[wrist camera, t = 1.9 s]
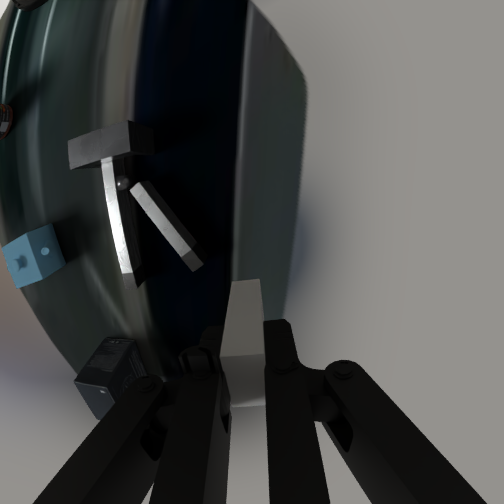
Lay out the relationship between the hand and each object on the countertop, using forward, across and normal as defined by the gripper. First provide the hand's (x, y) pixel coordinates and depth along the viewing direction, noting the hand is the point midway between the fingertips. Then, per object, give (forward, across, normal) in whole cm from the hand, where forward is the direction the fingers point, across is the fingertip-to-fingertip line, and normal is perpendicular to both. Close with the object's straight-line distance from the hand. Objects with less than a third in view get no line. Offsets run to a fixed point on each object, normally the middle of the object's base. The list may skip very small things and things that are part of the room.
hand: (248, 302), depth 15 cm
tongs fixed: (+16, -14, +4) cm, 21 cm away
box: (+16, -21, -17) cm, 32 cm away
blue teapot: (+16, -28, +2) cm, 33 cm away
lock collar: (+16, -13, +12) cm, 24 cm away
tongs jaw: (+16, -8, +3) cm, 18 cm away
